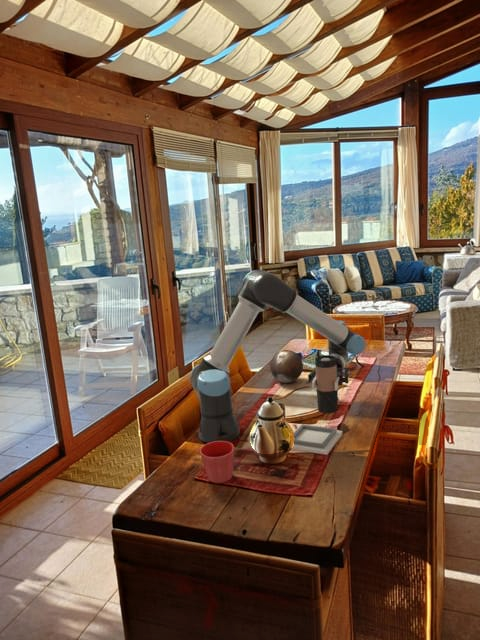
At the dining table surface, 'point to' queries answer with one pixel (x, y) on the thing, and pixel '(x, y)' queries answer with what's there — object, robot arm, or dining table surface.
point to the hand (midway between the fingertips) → (324, 386)
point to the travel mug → (326, 384)
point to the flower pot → (218, 460)
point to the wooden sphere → (286, 366)
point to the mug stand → (315, 439)
